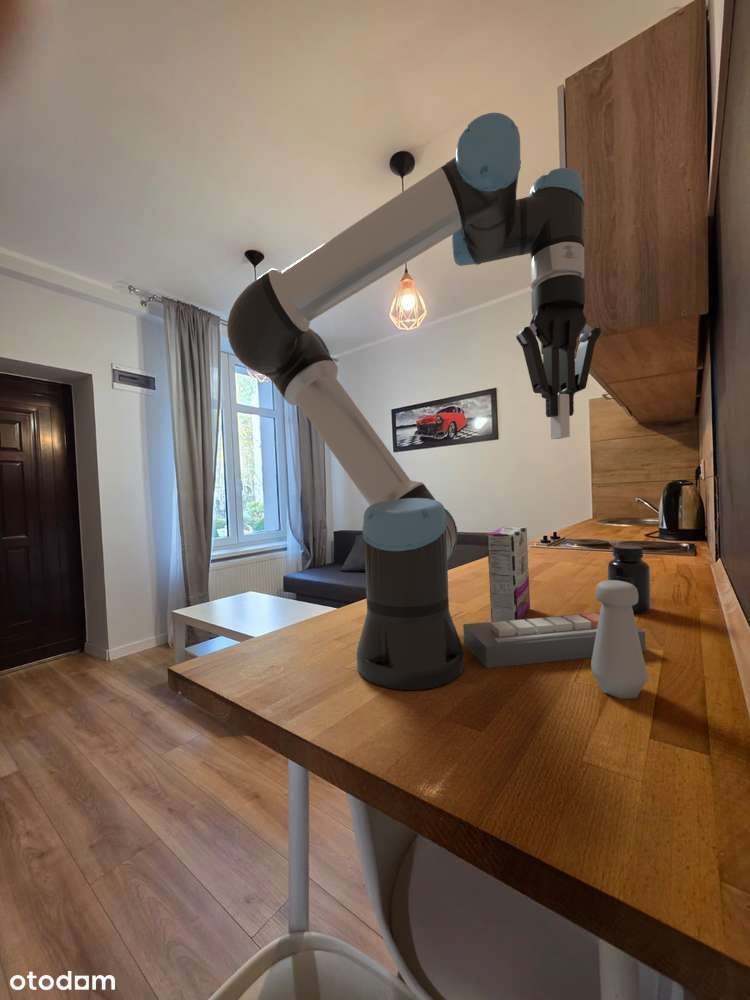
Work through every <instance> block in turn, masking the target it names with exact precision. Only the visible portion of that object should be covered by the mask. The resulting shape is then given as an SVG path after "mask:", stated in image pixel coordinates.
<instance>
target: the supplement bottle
mask: <svg viewBox="0 0 750 1000" xmlns="http://www.w3.org/2000/svg"><path fill="white" fill-rule="evenodd" d="M612 550H613V553H612V556H613V557H614V558H613V559H611V560H610V561H609V562H608V564H607V581H608V580H616V581H623V582H627V583H630V584H633V585H634V586H635V587H636V588H637V591H638V602H637V604H635V605H633V606H632V609H633V613H634V614H638V615H639V614H647V613H649V612H650V611H651V604H652V603H651V602H652V601H651V571H650V570H651V569H650V568H651V567H650V565H649V564H648V563H647V562H646V561H644V560H643V558H644V552H643V551H644V549H643V547H641V546H638V545H637V546H636V545H626V544H625V545H624V544H623V545H615V546H613V547H612Z"/></svg>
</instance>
